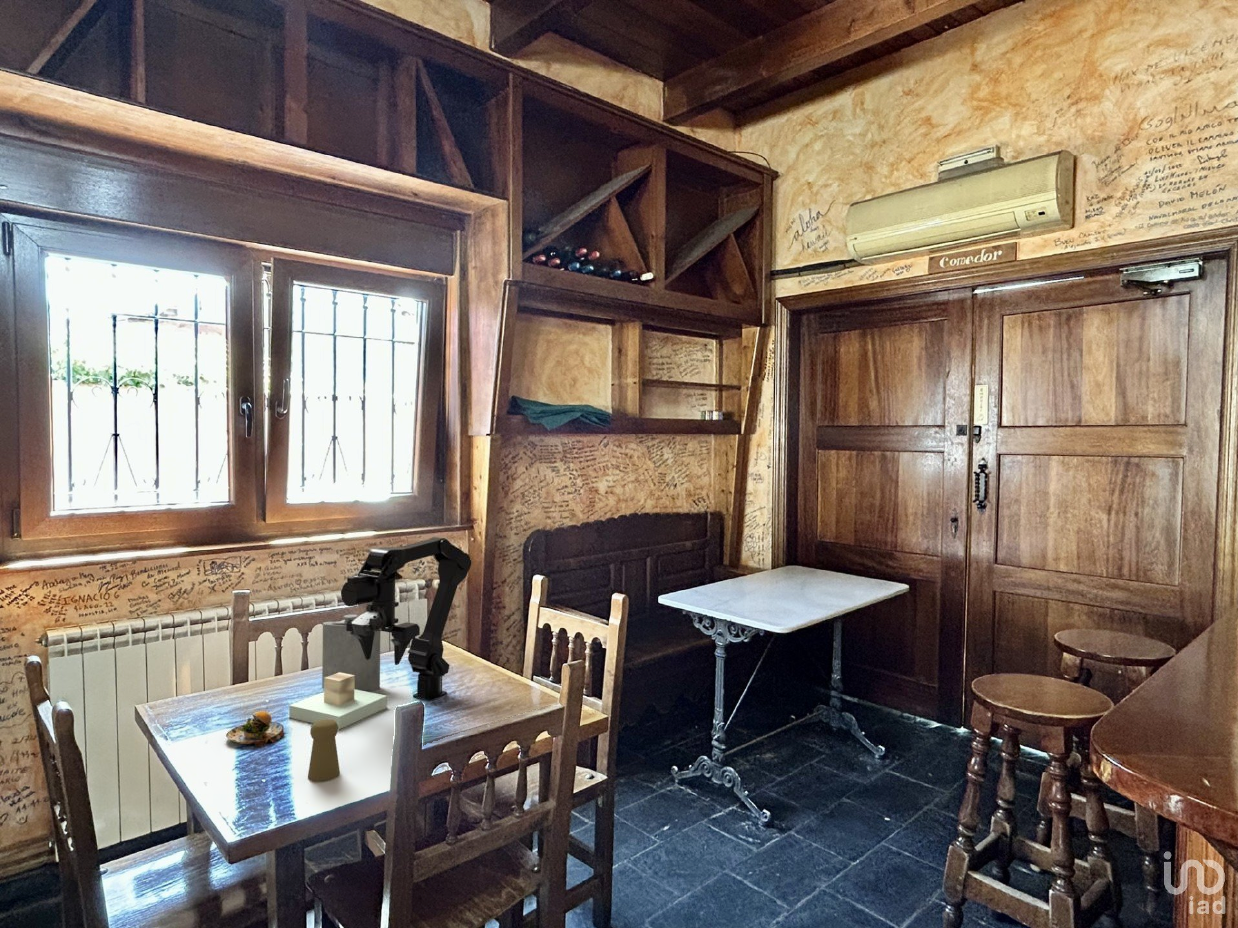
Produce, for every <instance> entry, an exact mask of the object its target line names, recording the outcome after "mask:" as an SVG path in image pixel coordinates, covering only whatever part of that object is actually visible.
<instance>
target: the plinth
mask: <svg viewBox="0 0 1238 928" xmlns="http://www.w3.org/2000/svg"><path fill="white" fill-rule="evenodd" d="M288 707H289V709H288V710H289V715H288V718H290V719H293V720H298V721H302V722H306V723H311V724H314V723H315V722H317V721H319V720H324V719H331V720H334V721H336V723H337V725H338V730H342V729H343V728H346V727H347V726H350V725H352V724H354V723H356V722H358V721H361V720H362V719H365V718H367V717H369V716H372V715H373V714H376V713H377V712H381V711H382V710H385V709H387V708H388V696H387V695H384V694H379V693H375V692H371V691H370V692H369V691H367V690H366V691H361V690H356V689H354V699H353V700H351V701H349V702H346V703H344V704H341V705H335V704H330V703H326V702H324V691H323V692H321V693H317V694H315V695H313V696H310V697H307V698H305V699H302V700H300V701H296V702H294V703H292V704H289V706H288Z"/></svg>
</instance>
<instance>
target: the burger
mask: <svg viewBox="0 0 1238 928" xmlns="http://www.w3.org/2000/svg"><path fill="white" fill-rule="evenodd" d="M267 708H268V705H267V706H266V708H265V711H264V710H261V711H255V712H254V713H252V717H253V718H251V717H248V718H247V721H246V722H245V723H244V724H241V725H237V726H235V727H234V728H232V729H230V730H229V731H228V732H227V733H226V734H225V736H226V738H227V739H228V740H230V741H232V742H234V743H237V744H242V745H251V744H252V745H253V744H254V745H255V748H261V747H265V746H266V745H267V743H268V740H270V742H272V743H276V742H277V741H280V739H281V738H282V736H285V731H284V728H285V727H284V726H283V724H282V723H279V722H276V721H272V720H273V719H272V716H271V714H270V713H268V712H267Z"/></svg>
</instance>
